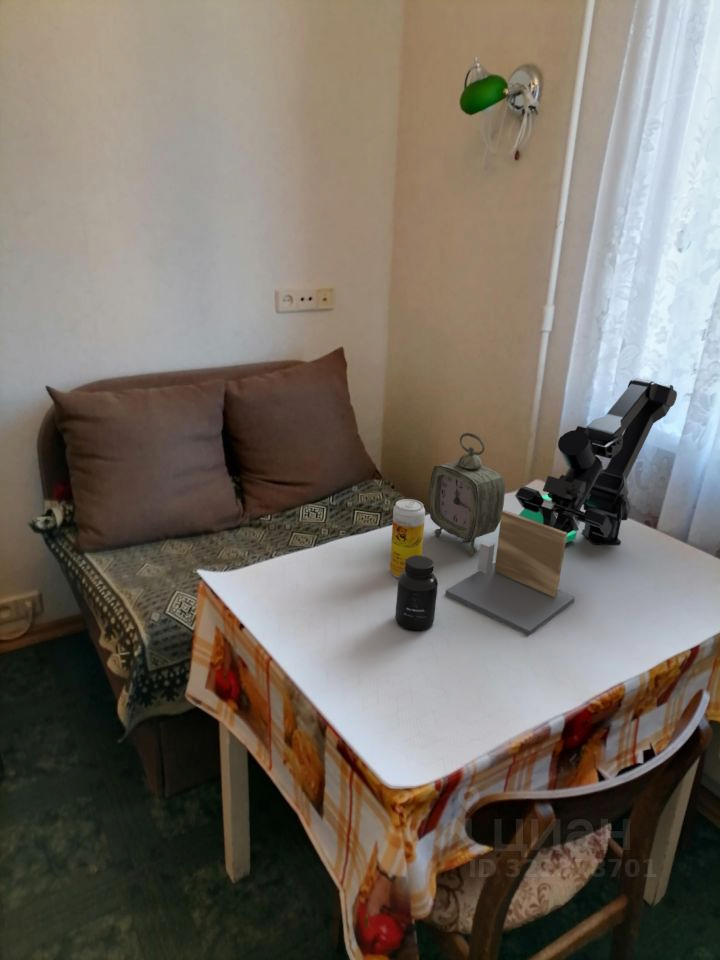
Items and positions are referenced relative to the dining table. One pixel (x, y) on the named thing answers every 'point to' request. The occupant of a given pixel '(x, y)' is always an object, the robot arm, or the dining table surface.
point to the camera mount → (539, 518)
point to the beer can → (406, 533)
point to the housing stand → (507, 596)
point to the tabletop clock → (466, 496)
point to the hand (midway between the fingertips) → (542, 547)
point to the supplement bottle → (416, 595)
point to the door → (530, 552)
